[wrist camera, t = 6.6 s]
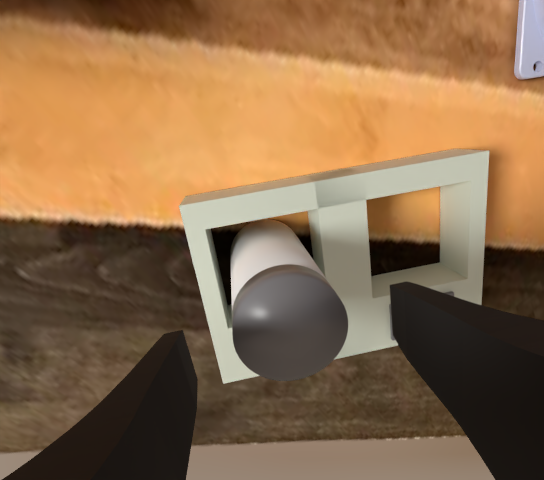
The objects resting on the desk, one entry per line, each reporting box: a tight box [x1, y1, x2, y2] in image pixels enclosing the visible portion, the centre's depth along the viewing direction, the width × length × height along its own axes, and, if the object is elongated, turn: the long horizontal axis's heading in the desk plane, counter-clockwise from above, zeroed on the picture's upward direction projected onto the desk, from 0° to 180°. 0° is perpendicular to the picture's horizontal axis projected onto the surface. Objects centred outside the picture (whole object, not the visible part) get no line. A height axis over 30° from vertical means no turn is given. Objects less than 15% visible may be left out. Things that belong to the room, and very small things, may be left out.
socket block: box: [179, 149, 489, 384], centre depth 18 cm, size 15×10×3 cm, turn 99°
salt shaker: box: [230, 219, 348, 381], centre depth 15 cm, size 4×4×8 cm
